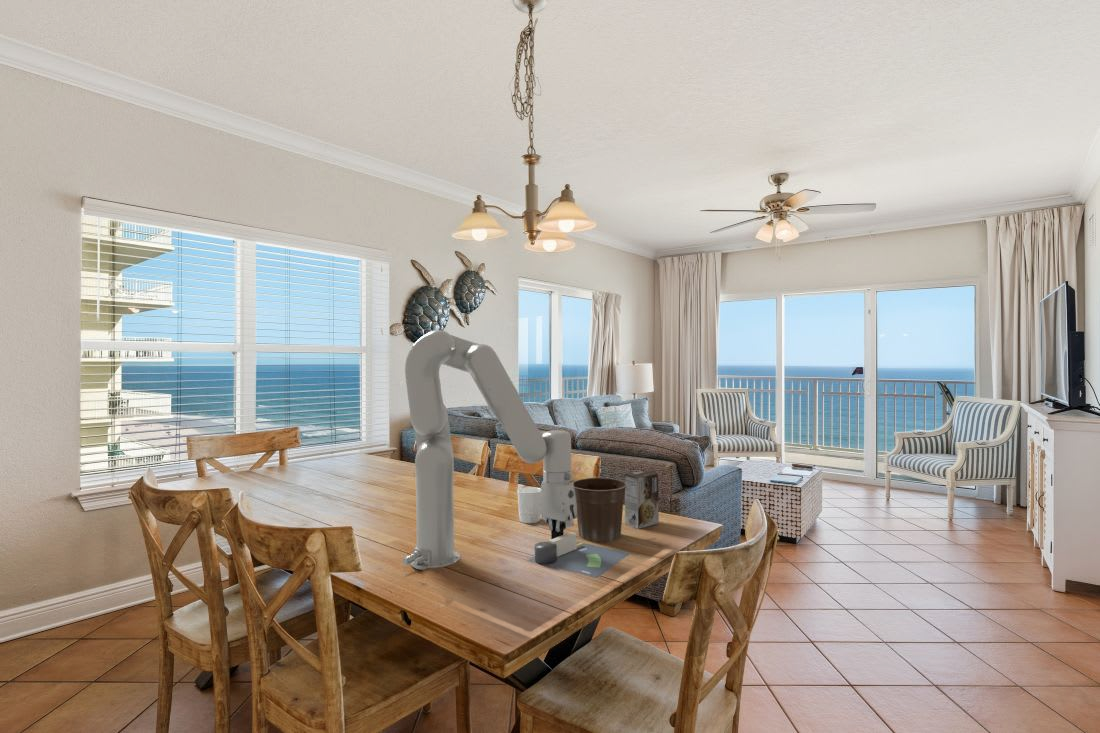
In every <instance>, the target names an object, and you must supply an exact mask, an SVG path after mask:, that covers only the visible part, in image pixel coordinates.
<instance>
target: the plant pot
mask: <svg viewBox="0 0 1100 733" xmlns="http://www.w3.org/2000/svg"><path fill="white" fill-rule="evenodd" d="M572 482H573V483H574V487H575V492H576V501H577V518H576V520H577V529H578V530H577V531H578V536H579V537H580V538H581V539H582V540H584V541H588V542H592V543H609V542H610V543H611V542H614V541H617V540H619V539H620V538H621V536H622V526H623V524H622V522H623V511H624V500H625V488H626V487H627V483H626V482H625V480H621V479H617V478H610V477H588V478H581V479H580V478H579V479H576V480H574V481H572Z"/></svg>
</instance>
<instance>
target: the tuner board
mask: <svg viewBox="0 0 1100 733" xmlns="http://www.w3.org/2000/svg"><path fill="white" fill-rule="evenodd" d="M579 543H583V545H582V546H580V547H577V549H575V550H573V551H570V552H568V553H565V554H563V555H560V556H558V557H557V560H556V561H555V562H553V563H548V564H543V563H538V562H536V561H535V556H533V557H531V558H529V559H528V560H527V562H531V563H535V564H539V565H543V566H547V567H552V568H554V569H559V570H562V571H567V572H571V573H574V574H579V575H583V576H587V577H589V578H590V577H591V578H595V579H598V577H600V576H601V575H603V574H604V573H605V572H607V571H608V570H609V569H611V568H613V567H614V566H615V565H616V564H618V563H619V562H621V561H622V560H623V559H625V558H626V557H628V556H629V555H630V554H631V552H628V551H623V550H618V549H613V548H608V547H605V546H604V547H603V546H599V545H595V544H589V543H586V542H585V543H584V542H582V541H581V542H580V541H577V544H579Z"/></svg>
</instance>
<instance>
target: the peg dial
mask: <svg viewBox="0 0 1100 733" xmlns="http://www.w3.org/2000/svg"><path fill="white" fill-rule="evenodd" d="M577 542H578V541H577V533H576V532H573V531H570V532H568V533H565V534H564V535H562V536H559V537H556V538H554V539H551V538H550V539H548V541H541V542H539V541H538V542H536V543H535V544H534V557H535V561H536V562H538V563H543V564H548V563H553V562H555V561H556V560H557V557H558V556H560V555H563V554H565V553H568V552H570V551H573V550H575V549H577V547H580V546H582V545H583V543H584V542H581V543H579V544H577ZM538 563H537V564H538Z"/></svg>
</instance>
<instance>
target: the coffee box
mask: <svg viewBox="0 0 1100 733" xmlns="http://www.w3.org/2000/svg"><path fill="white" fill-rule="evenodd" d="M624 482H626V483H627V487H626V488H625V498H624V521H625V522H624V524H625V525H626V524H627V526H629V527H632V528H634V527H635V529H636V530H639V529H643V528H646V527H650V526H654V525H657V524H659V522H660V520H659V516H660V515H659V514H660V513H659V474H658V473H657V472H653V471H650V470H646V469H645V470H639V471H632V472H629V473H625V474H624Z"/></svg>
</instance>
